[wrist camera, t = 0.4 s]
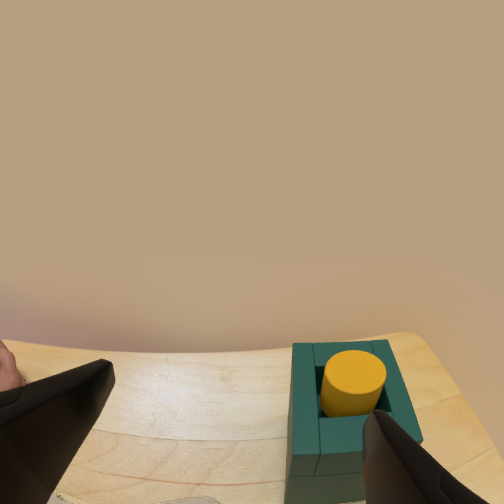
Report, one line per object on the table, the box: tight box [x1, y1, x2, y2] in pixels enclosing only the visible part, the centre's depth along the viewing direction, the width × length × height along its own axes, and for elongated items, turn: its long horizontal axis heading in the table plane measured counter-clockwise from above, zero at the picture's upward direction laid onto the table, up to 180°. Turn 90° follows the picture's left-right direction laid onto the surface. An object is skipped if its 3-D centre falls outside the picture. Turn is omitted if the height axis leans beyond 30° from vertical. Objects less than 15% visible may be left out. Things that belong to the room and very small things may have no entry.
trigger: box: [320, 350, 387, 418], centre depth 15 cm, size 4×4×3 cm
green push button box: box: [284, 339, 423, 504], centre depth 17 cm, size 9×7×10 cm
